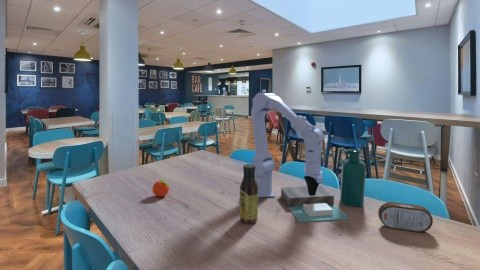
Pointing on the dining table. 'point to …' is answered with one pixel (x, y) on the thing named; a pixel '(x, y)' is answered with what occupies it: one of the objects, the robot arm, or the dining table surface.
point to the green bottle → (352, 179)
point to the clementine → (160, 188)
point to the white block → (317, 209)
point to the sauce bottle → (249, 195)
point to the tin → (405, 217)
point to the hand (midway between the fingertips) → (311, 194)
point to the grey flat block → (305, 196)
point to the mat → (303, 217)
